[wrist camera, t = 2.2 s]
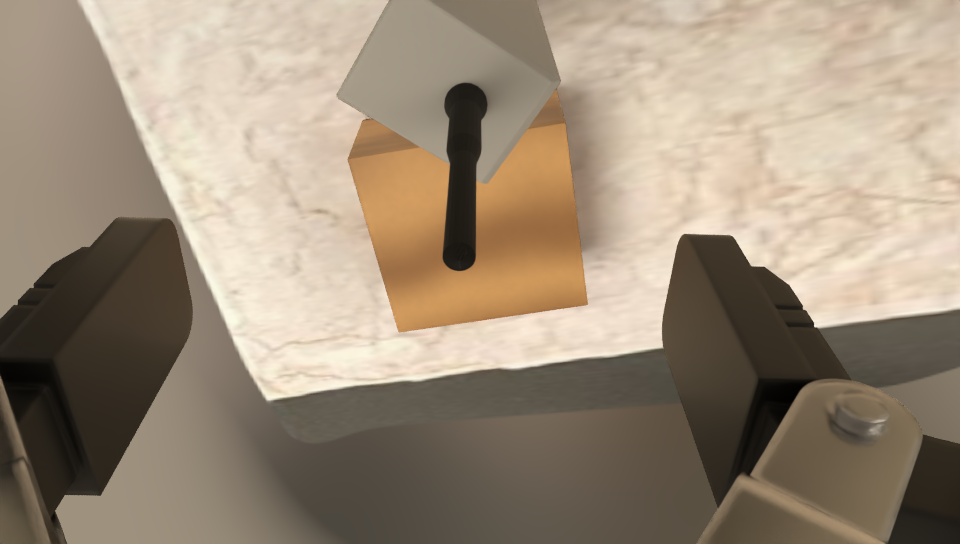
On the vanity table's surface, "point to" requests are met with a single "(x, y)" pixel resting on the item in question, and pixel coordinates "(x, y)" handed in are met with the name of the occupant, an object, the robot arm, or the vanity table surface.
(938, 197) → the vanity table surface
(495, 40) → the vintage mobile phone
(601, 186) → the vanity table surface
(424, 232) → the maple block
